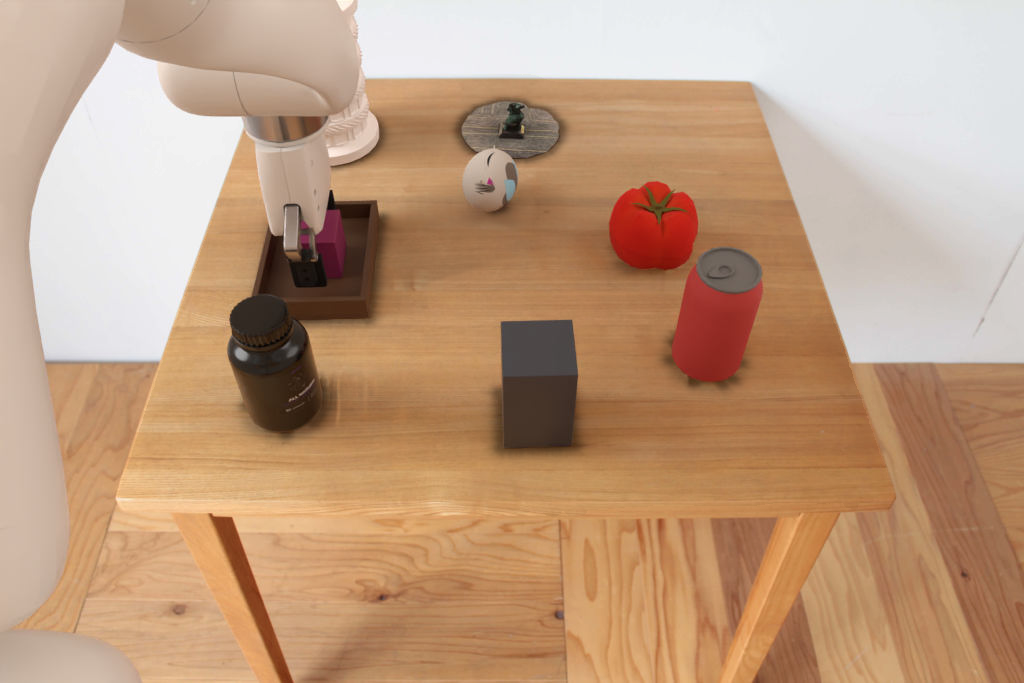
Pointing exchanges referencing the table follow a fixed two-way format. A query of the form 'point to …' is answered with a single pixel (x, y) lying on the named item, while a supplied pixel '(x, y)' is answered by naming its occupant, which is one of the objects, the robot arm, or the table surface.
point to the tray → (340, 293)
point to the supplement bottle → (273, 364)
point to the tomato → (653, 227)
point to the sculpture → (511, 129)
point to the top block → (330, 243)
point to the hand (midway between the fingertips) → (317, 252)
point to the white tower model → (352, 112)
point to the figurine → (490, 180)
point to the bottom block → (538, 383)
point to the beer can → (717, 314)
